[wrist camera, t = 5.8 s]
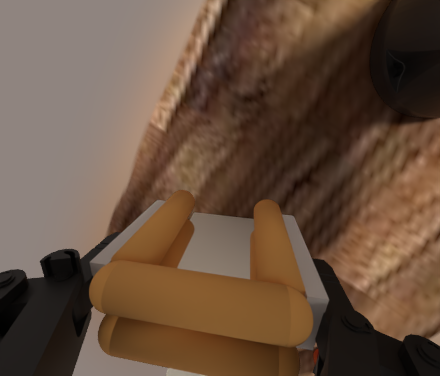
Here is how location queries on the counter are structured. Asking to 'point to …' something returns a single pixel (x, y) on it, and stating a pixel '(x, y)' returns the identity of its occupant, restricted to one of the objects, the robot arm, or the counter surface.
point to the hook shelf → (217, 251)
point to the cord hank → (203, 300)
